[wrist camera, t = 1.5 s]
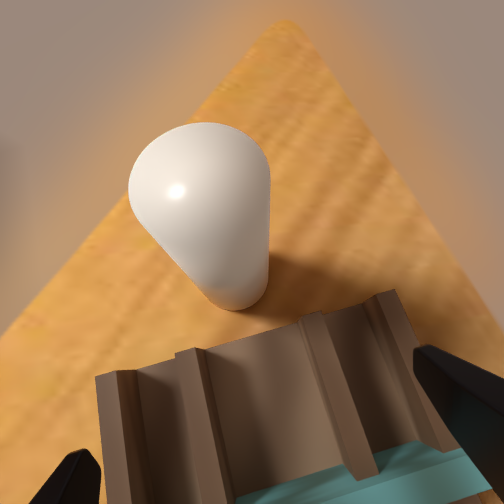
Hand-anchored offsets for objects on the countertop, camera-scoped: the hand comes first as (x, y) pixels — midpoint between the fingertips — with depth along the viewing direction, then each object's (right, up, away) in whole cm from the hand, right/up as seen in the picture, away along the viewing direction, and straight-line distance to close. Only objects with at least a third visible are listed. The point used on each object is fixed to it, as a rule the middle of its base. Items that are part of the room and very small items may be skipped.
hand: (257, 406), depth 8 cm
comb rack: (+2, -8, +11) cm, 14 cm away
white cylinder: (-1, +2, +15) cm, 15 cm away
